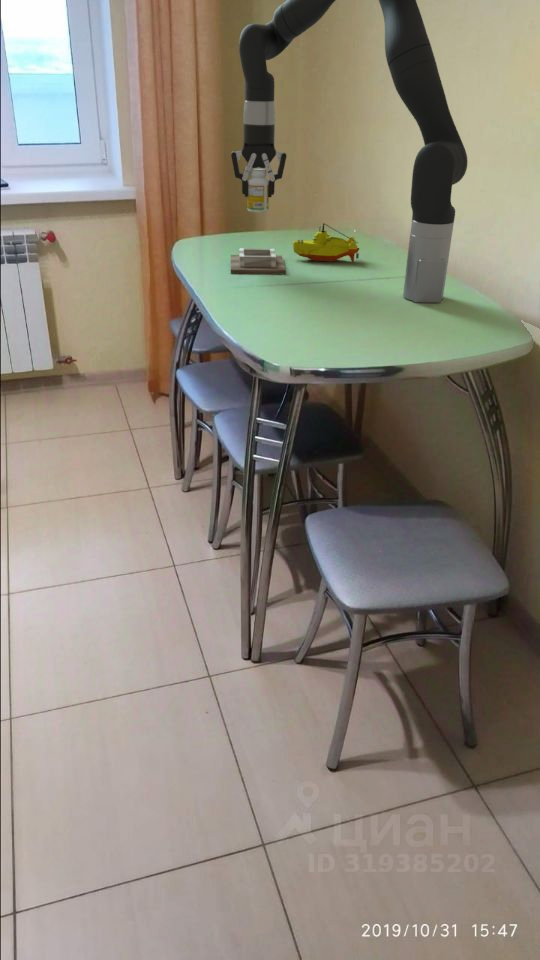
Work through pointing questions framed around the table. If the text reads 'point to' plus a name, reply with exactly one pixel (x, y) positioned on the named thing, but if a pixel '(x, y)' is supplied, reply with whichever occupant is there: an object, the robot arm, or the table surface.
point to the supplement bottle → (258, 191)
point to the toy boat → (326, 247)
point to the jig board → (257, 262)
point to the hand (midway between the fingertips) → (258, 196)
